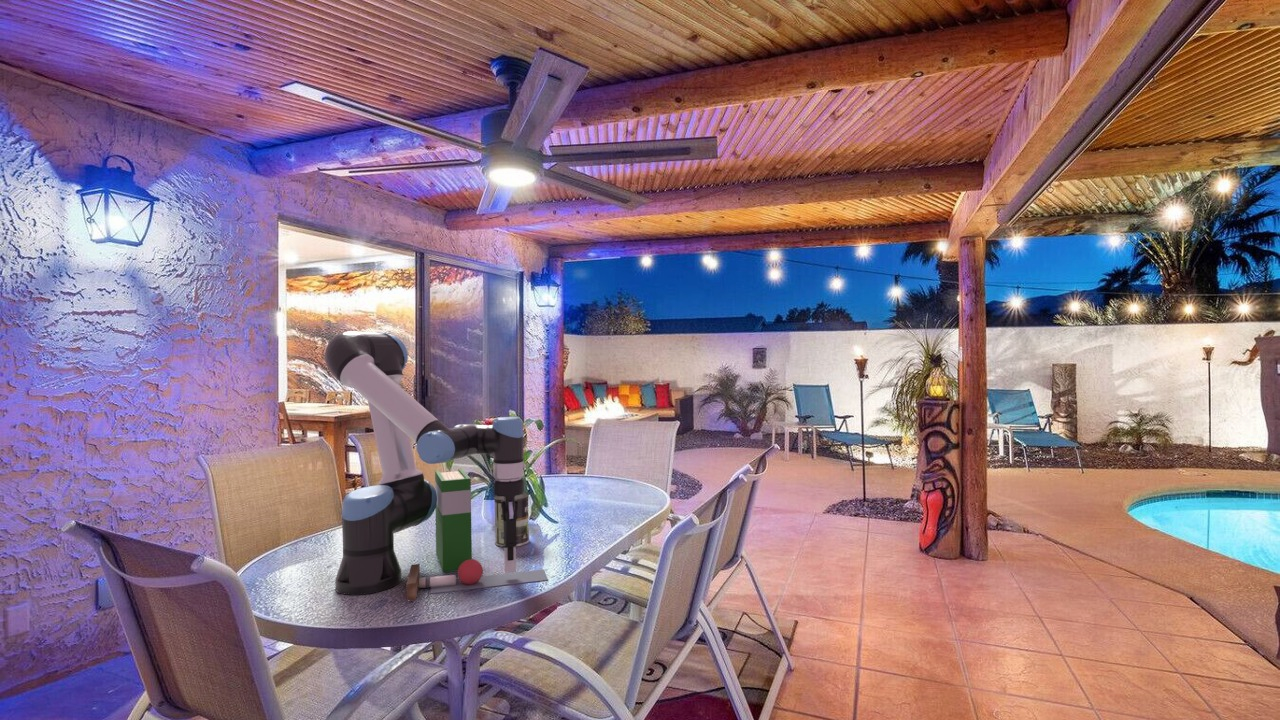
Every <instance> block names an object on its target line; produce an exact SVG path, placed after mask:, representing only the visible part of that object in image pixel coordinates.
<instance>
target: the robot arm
mask: <svg viewBox="0 0 1280 720" xmlns="http://www.w3.org/2000/svg"><path fill="white" fill-rule="evenodd" d="M408 357H409V355H408V349H407V347H406V345H405V344H404V341H402V340H401V339H400V338H399V337H398V336H396V335H394V334H392V333H391V334H390V333H387V332H380V331H377V332H371V331H367V332H366V331H357V330H355V331H353V330H350V331H349V330H348V331H344V332H341V333H338V334H337V335H335V336H334V337H332V339H331V340H329V342H328V343H327V345H326V348H325V352H324V361H325V364H326V367H327V368H328V370H329V372H330V373H331V374H332V375H333V377H335V378H336V379H337V380H338V382H340V383H341V384H342V385H343V386H345V387H352V388H353V389H354V390H355V391H357V392H358V393H359V394H360V396H362V397H363V398H364V399H366V400H367V403H368V407H369V413H370V417H371V423H372V428H373V434H374V438H375V443H376V448H377V453H378V459H379V464H380V467H381V468H380V469H381V473H382V477H381V478H380V480H379V481H378V483H377V485H369V486H368V487H367V486H365V487H361V488H357V489H355V490H353V491H350V492H349V493H348V494H346V495H345V496H344V498H343V500H342V508H341V521H342V522H341V524H342V526H341V527H342V528H341V529H342V533H341V534H342V558H341V561H340V565H339V567H338V570H337V574H336V576H335V579H334V580H335V582H334V583H335V585H334V586H335V588H336V589H335V591H336V590H337V591H338V592H337V591H336V592H337V593H339V592H340V593H339V594H342V593H345V594H344V595H349V594H360V595H369V594H374V593H378V592H382V591H386V590H388V589H392V588H393V587H395V586H397V585H398V584H400V582H401V581H402V575H403V574H402V573H403V572H402V569H401V566H400V563H399V561H398V557H397V555H396V552H395V547H394V544H395V543H394V542H395V541H394V539H395V538H394V534H396V533H399V532H401V531H405V530H407V529H409V528H411V527H416V526H418V525H421V524H422V523H424V522H425V521H427V520H429V519H430V518H431V517H432V516H433V514H434V513H435V512H436V505H437V494H436V491H435V487H434V485H433V484H431V482H430V481H428V480H427V479H425V476H424V472H422V470H420V469H418V468H417V467H416V462H415V456H414V452H413V447H412V442H411V440H412V441H413V442H414V443H415V444H416V452H417V453H418V457H419V459H421V461H422V462H423V463H426V464H429V465H434V464H444V463H447V462H449V461H452V460H453V461H454V460H456V459H461V458H465V457H469V456H474V455H492V456H493V458H492V459H493V466H492V467H493V468H492V469H493V478H494V481H493V494H494V495H495V496H501V497H502V496H504V501H501V508H502V517H503V523H504V537H503V539H504V544H505V545H502V547H501V548H502V549H504V550H503V553H504V554H503V555H504V558H503V560H504V563H503V564H504V574H506V573H515V572H517V562H516V561H517V560H516V559H517V558H516V557H517V552H516V550H517V549H516V548H517V547H516V545H517V541H516V519H517V509H518V502H517V500H515V496H516V495H521V494H523V493H524V494H525V479H524V476H525V470H524V469H526V468H527V465H526V463H525V461H524V459H525V458H524V437H525V432H524V425H523V423H524V422H523V420H522V418H520V417H518V416H501V417H500V416H499V417H495V418H493V420H492V423H491V424H472V423H464V424H457V425H455V426H454V427H453V428H452V427H451V428H449V427H448V426H447V425H445V424H444V423H443V422H441V420H439V419H438V418H436V416H434V415H433V413H431V412H430V411H429V410H428V409H426V408H425V407H424V406H423V405H422V404H421V403H419V401H417V400H416V399H415V398H414V397H413V396H411V394H409V393H408V392H407V391H406V390H404V389H403V388H402V387H401V386H400V382H401V381H402V380H403V377H404V373H403V371H404V369H405V368H406V367H407V364H406V363H408V359H409V358H408Z"/></svg>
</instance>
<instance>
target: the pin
mask: <svg viewBox="0 0 1280 720" xmlns="http://www.w3.org/2000/svg"><path fill="white" fill-rule="evenodd" d="M456 579H457V574H449V575H438V576H437V575H436V576H426V577H420V578H419V587H418V589H429V588H430V589H431V587H438V586H449V585H456Z"/></svg>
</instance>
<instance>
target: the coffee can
mask: <svg viewBox="0 0 1280 720" xmlns="http://www.w3.org/2000/svg"><path fill="white" fill-rule="evenodd" d="M529 496H530V495H529V494H527V493H525V492H524V493H523V494H521V495H516V496H515V500H517V502H518V509H517V519H516V541H517V545H516V548H517V547H521V546H525V545H527V544H528V543H529V542H530V532H529V531H530V530H529V529H530V528H529V520H530V519H529ZM493 501H494V531H495V532H494V535H495V536H494V538H495V539H494V541H495V542H494V544H495V546H498V547H501V548H502V545H505V544H504V539H503V537H504V523H503V517H502V508H501V501H504V496H502V497H501V496H496V495H495V496H494V497H493Z"/></svg>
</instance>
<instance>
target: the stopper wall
mask: <svg viewBox="0 0 1280 720" xmlns="http://www.w3.org/2000/svg"><path fill="white" fill-rule="evenodd" d="M420 567H421V565H420V564H419V563H416V564H411V565H410V568H409V573H408V577H407V581H406V602H409V601H408V600H414V601H417V598H418V593H417V592H418V591H419V578H421V571H420V570H421V568H420ZM416 597H417V598H416Z"/></svg>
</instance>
